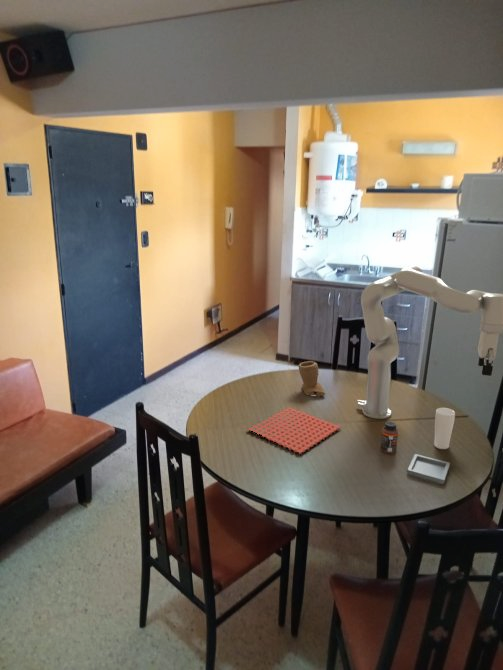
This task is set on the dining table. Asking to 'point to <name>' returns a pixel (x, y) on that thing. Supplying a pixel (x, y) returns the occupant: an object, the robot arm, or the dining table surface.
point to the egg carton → (296, 430)
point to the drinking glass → (443, 427)
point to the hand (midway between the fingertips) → (484, 370)
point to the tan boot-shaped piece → (310, 378)
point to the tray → (428, 469)
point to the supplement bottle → (389, 438)
